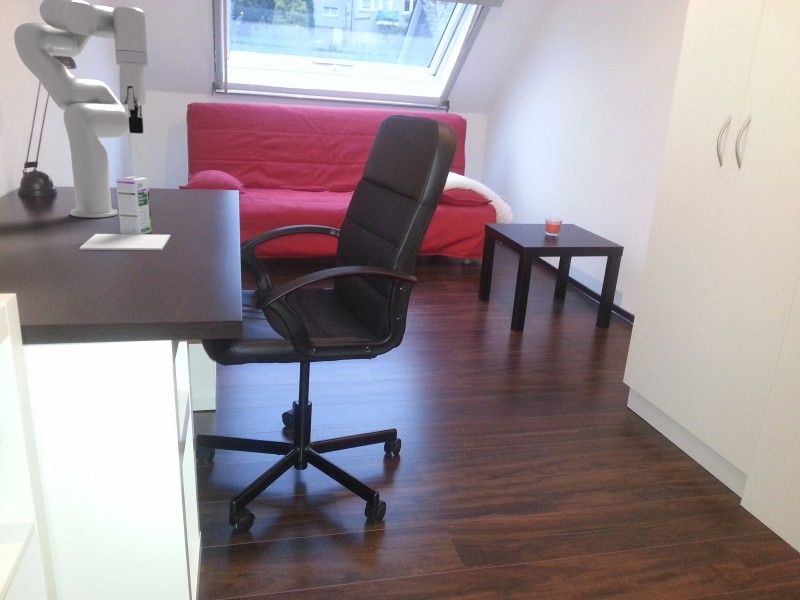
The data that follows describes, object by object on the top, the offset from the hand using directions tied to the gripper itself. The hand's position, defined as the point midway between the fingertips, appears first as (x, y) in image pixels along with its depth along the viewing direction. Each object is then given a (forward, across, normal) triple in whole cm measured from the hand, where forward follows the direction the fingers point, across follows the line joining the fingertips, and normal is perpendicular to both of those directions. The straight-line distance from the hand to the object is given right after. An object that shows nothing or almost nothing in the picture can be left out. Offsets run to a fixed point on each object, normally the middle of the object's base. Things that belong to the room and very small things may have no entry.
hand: (136, 132), depth 171 cm
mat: (+25, +22, 0) cm, 33 cm away
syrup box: (+25, +10, 0) cm, 27 cm away
